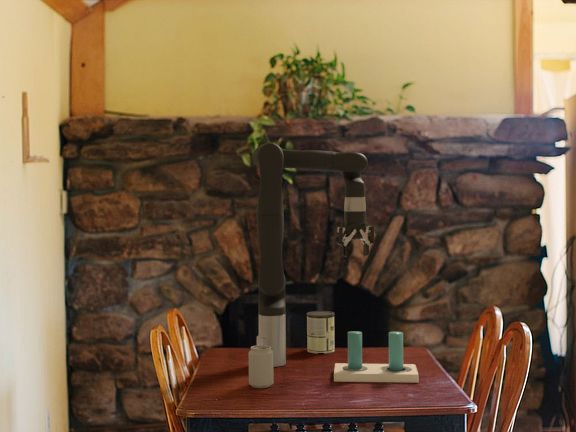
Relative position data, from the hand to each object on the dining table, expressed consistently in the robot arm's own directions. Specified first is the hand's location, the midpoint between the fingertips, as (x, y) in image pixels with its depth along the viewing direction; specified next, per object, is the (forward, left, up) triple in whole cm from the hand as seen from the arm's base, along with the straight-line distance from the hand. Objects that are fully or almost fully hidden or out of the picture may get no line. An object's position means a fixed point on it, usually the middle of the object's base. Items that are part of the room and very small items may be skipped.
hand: (355, 256), depth 271 cm
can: (-45, -20, -36) cm, 61 cm away
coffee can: (-5, +17, -36) cm, 40 cm away
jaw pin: (-2, -29, -36) cm, 46 cm away
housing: (-8, -26, -36) cm, 45 cm away
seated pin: (-14, -23, -36) cm, 45 cm away
